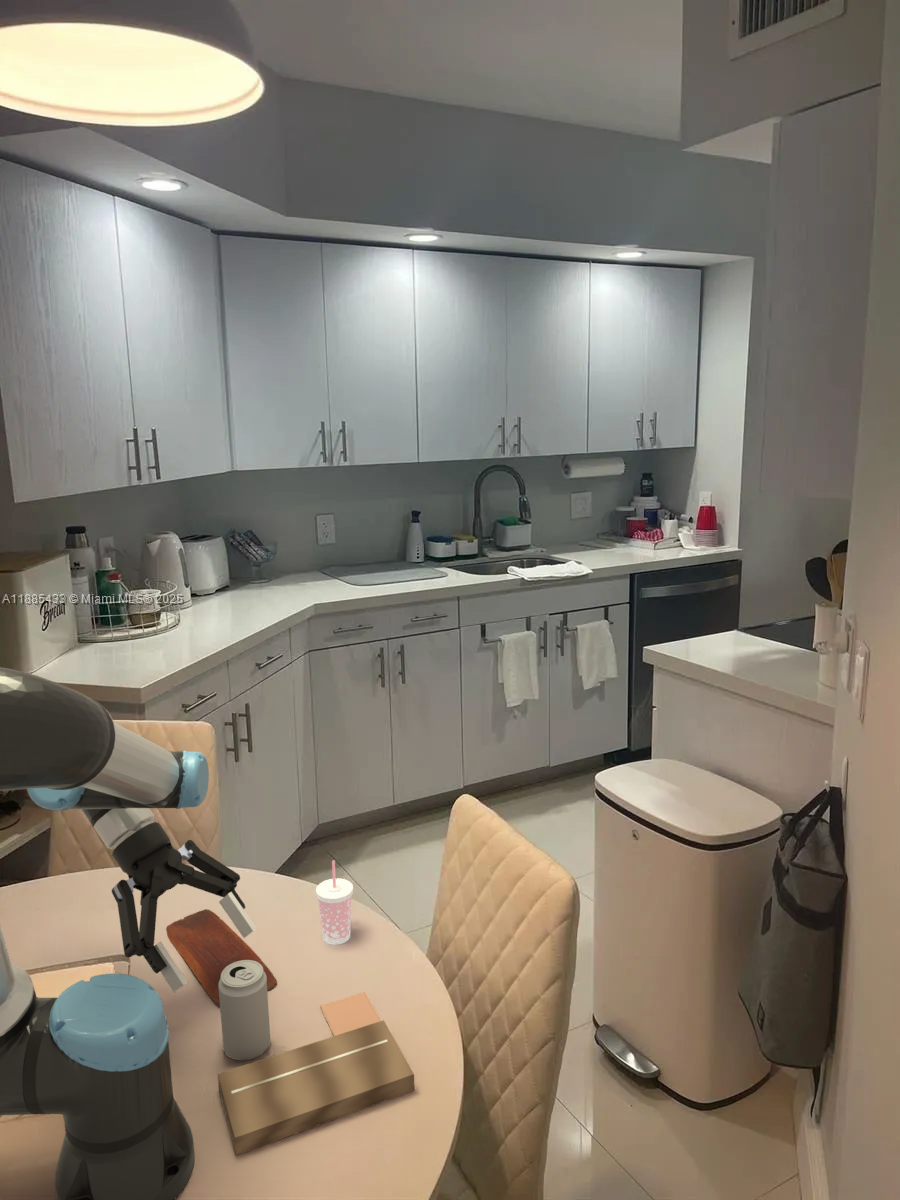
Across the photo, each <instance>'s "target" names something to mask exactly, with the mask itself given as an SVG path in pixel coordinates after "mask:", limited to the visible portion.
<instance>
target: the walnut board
mask: <svg viewBox="0 0 900 1200" xmlns="http://www.w3.org/2000/svg"><path fill="white" fill-rule="evenodd" d="M409 1064H410V1063H408V1061H407V1059H406V1057H405V1056H404V1054H403V1052H402V1050H401V1049H400V1047H399V1045H398V1042H396V1040H395V1038H394V1036H393V1034H392V1032H391V1031H390V1028H389V1027H388V1025H387V1024H386V1021H385V1020H384V1019H383V1020H381V1021H380V1022H377V1023H373V1024H370V1025H367V1026H364V1027H361V1028H358V1029H355V1030H352V1031H349V1032H346V1033H342V1034H339V1035H336V1036H333V1035H332V1036H330V1037H328V1038H324V1039H321V1040H318V1041H315V1042H312V1043H309V1044H306V1045H303V1046H299V1047H297V1048H293V1049H290V1050H288V1051H283V1052H280V1053H278V1054H275V1055H272V1056H269V1057H266V1058H263V1059H260V1060H256V1061H253V1062H249V1063H247V1064H244V1065H241V1066H238V1067H235V1068H231V1069H227V1070H225V1071H222V1072H219V1073H217V1081H218V1083H217V1084H218V1091H219V1096H220V1100H221V1099H222V1100H221V1102H222V1107H223V1110H224V1114H226V1115H225V1118H226V1121H227V1125H228V1129H229V1130H228V1131H229V1133H230V1137H231V1140H232V1144H233V1148H234V1151H235V1154H236V1156H238V1155H241V1154H243V1153H247V1152H248V1151H252V1150H254V1149H256V1148H260V1147H263V1146H265V1145H268V1144H271V1143H273V1142H277V1141H278V1140H281V1139H282V1140H283V1139H284V1138H287V1137H290V1136H293V1135H295V1134H298V1133H301V1132H303V1131H306V1130H309V1129H313V1128H315V1127H317V1126H320V1125H323V1124H325V1123H326V1124H327V1123H328V1122H331V1121H334V1120H336V1119H339V1118H342V1117H345V1116H348V1115H350V1114H354V1113H355V1112H358V1111H361V1110H362V1111H363V1110H364V1109H366V1108H369V1107H373V1106H375V1105H378V1104H380V1103H381V1104H382V1103H383V1102H386V1101H389V1100H391V1099H395V1098H397V1097H400V1096H402V1095H403V1096H404V1095H405V1094H409V1093H411V1092H413V1091H415V1074H414V1071H413V1070H412V1067H411V1066H410V1065H409Z"/></svg>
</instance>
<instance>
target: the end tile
mask: <svg viewBox="0 0 900 1200" xmlns="http://www.w3.org/2000/svg"><path fill="white" fill-rule="evenodd" d="M319 1008H320V1010H321V1012H322V1015H323V1016H324V1018H325V1021H326V1022H327V1024H328V1027H329V1029H330V1031H331V1033H332V1037H333V1036H336V1035H339V1034H342V1033H346V1032H349V1031H352V1030H355V1029H358V1028H361V1027H364V1026H367V1025H370V1024H373V1023H377V1022H380V1021H382V1020H381V1018H380V1016H379V1014H378V1013H377V1011H376V1010H375V1007H374V1005H373V1004H372V1002H371V1001H370V998H369V996H368V995H367V993H366V991H363V992H360V993H357V994H353V995H350V996H347V997H343V998H340V999H336V1000H333V1001H331V1002H330V1001H329V1002H327V1003H324V1004H321V1005H319Z"/></svg>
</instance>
